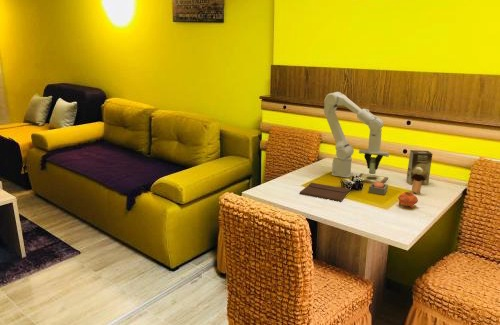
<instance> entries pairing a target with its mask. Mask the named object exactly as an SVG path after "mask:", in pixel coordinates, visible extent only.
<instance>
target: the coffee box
mask: <svg viewBox="0 0 500 325" xmlns="http://www.w3.org/2000/svg"><path fill="white" fill-rule="evenodd" d="M432 159H433V153H432V152H431V151H429V150H414V149H413V150H412V149H410V150H409V158H408V165H407V173H406V179H405V181H406V182H407V183H408V184H409V185H413V181H414V179H412V181H409V180H410V178H411V176H412V175H414V174H416V170H415V169H416V168H417V167H421V168H422V170H423V172H422V173H421V174H420V175H422V176H424V177H425V179H426V182H427V183H426V184H425V183H424V181H423V180H421V186H424V185H425V186H428V185H429V182H430V181H429V180H430V175H431V168H432Z"/></svg>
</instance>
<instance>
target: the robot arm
mask: <svg viewBox="0 0 500 325" xmlns="http://www.w3.org/2000/svg"><path fill="white" fill-rule="evenodd" d="M323 102H324V107H323V113H324V116H325V119H326V121H327V123H328V126H329V128H330V131H331V134H332V136H333V139H334V141H335V151H336V152H335V156H336V157H334V158H333V160H332V166H331V174H330V175H331V176H334V177H335V176H336V177H342V178H346V179H347V178H350V177H351V176H352V175H353V174H354V173H353V172H352V155H353V154H354V152H355V150H354V147H353V146H352V145H351V144H350V142H349V141H348V140H347V139H346V137H345V134H344V131H343V128H342V126H341V123H340V121H339V119H338V115H337V113H336V111H337V108H338V107H339V106H341V107H342V106H344V107H345V108H347V109H348V110H350V111H351V112H352V113H354V114H356V117H357V119H358V120H360V121H361V122H363V123H364V124H366V126H367V127H368V128H369V136H368V147H367V148H368V149H366V148H360V149H359V150H358V154H363V156H364V159H365V162H366V166H367V169H369V166H370V157H372V156H375V157H376V167H375V170H376V171H377V170H378V169H379V166H380V162H382V161H381V160H382V159H383V157H386V158H389V157H390V152H387V151H383V150H381V144H382V128H383V127H384V124H385V122H384V120H383V119H382V118H381V117H378V116H377V115H374V114H373V113H372V112H370V110H369V109H368V108H367V109H366V108H362V109H361V107H360V106H358V105H357V104H356V103H354V102H353V101H352V100H351V99H349V98H348V97H347V95H345V94H343V93H342V92H340V91H334V92H331V93H330V92H329V93H328V94H326V96H325V98H324V100H323Z"/></svg>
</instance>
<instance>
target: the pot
mask: <svg viewBox="0 0 500 325" xmlns="http://www.w3.org/2000/svg"><path fill="white" fill-rule="evenodd" d="M397 198H398V206H400V207H401V206H402V205H404V206H408V207H410V209H413V208H414V206H415V205H416V204H417V203H418V202H419V198H418V197H417V196H416V195H415V194H414V193H410V191H405V192H403V193H401V194H400V195H399V196H398V197H397Z"/></svg>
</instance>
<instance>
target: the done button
mask: <svg viewBox="0 0 500 325" xmlns="http://www.w3.org/2000/svg"><path fill="white" fill-rule="evenodd" d="M384 184H385V183H384ZM384 184H383V183H381V182H375V183H374V187H378V188H383V186H384Z"/></svg>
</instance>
